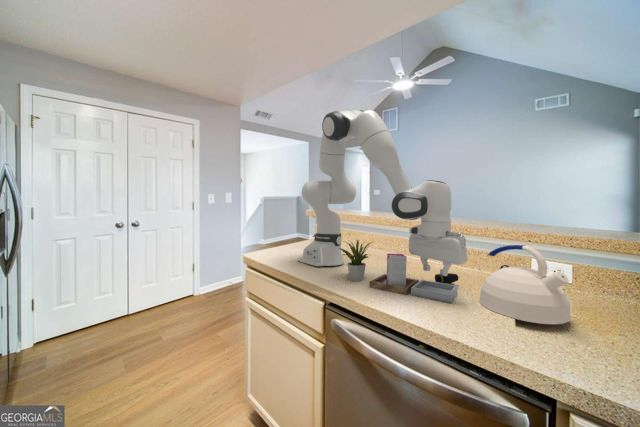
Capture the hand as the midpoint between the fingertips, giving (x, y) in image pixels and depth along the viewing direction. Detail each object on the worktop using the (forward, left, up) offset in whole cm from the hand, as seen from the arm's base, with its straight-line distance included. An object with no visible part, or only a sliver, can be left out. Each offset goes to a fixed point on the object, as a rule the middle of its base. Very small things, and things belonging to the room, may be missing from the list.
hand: (434, 272), depth 83 cm
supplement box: (-13, +1, -7) cm, 15 cm away
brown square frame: (-14, 0, -7) cm, 15 cm away
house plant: (-28, +1, -7) cm, 29 cm away
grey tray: (0, 0, -7) cm, 7 cm away
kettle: (+22, +3, -8) cm, 24 cm away
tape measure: (+3, +15, -7) cm, 17 cm away
